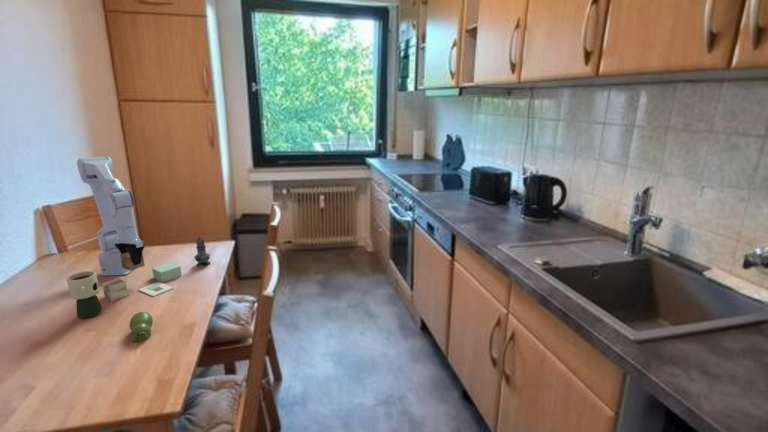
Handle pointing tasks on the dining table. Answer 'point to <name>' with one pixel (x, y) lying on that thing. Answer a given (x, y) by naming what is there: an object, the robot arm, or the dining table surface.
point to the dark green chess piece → (201, 254)
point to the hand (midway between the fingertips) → (132, 262)
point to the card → (155, 289)
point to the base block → (166, 272)
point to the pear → (141, 326)
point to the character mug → (85, 293)
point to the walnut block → (130, 262)
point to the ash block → (115, 289)
